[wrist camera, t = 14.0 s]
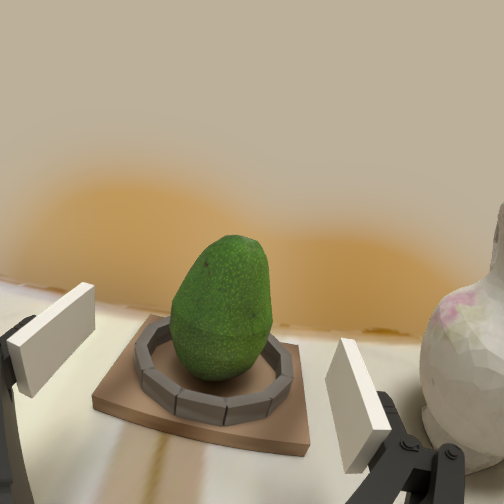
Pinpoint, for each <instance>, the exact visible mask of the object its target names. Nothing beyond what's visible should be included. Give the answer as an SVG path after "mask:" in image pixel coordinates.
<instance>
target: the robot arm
mask: <svg viewBox="0 0 504 504" xmlns="http://www.w3.org/2000/svg"><path fill="white" fill-rule="evenodd" d="M94 289H95V285H91V284H88V283H84V282H82V283H81V284H80V285H78V286H77V287H75V288H74V289H73V290H71V291H70V292H68V293H67V294H66V295H64V296H63V297H62V298H60V299H59V300H58V301H56V302H55V303H54V304H52V305H51V306H50V307H48V308H47V309H46V310H44V311H43V312H42V313H40V314H39V315H38V316H36V315H32V316H29V317H27V318H25V319H23V320H22V321H21V322H19V324H17V325H15V326H14V327H13V328H11V329H10V330H9V331H7V332H6V333H5V334H4V335H2V336H1V337H0V504H34V500H33V497H32V493H31V490H30V486H29V482H28V478H27V474H26V469H25V465H24V460H23V455H22V450H21V445H20V439H19V433H18V427H17V420H16V412H15V403H14V393H13V389H12V386H13V385H14V384H15V383H16V382H17V386H18V389H19V392H20V393H22V394H24V395H26V396H28V397H30V398H33V397H34V396H35V395H36V394H37V392H38V391H39V390H40V389H41V388H42V387H43V386H44V384H45V383H46V382H47V381H48V380H49V379H50V378H51V377H52V375H53V374H54V373H55V372H56V371H57V370H58V369H59V368H60V367H61V365H62V364H63V363H64V362H65V361H66V360H67V359H68V358H69V357H70V356H71V355H72V353H73V352H74V351H75V350H76V349H77V348H78V347H79V346H80V345H81V344H82V343H83V342H84V341H85V339H86V338H87V337H88V336H89V335H90V334H91V333H92V332H93V331H94V330H95V294H94V293H95V292H94V291H95V290H94ZM325 382H326V386H327V391H328V395H329V400H330V404H331V409H332V414H333V418H334V423H335V428H336V432H337V437H338V442H339V447H340V452H341V457H342V462H343V467H344V472H345V474H357V473H363V471H364V470H365V468H366V467H367V466H368V467H369V470H370V473H369V474H368V476H367V477H366V478H365V480H364V481H363V482H362V483H361V485H360V486H359V487H358V489H357V490H356V491H355V492H354V494H353V495H352V496H351V497H350V498H349V500H348V501H347V502H346V503H345V504H393V502H394V501H395V499H396V497H397V496H398V494H399V492H400V491H405V492H407V493H406V498H405V502H404V504H464V490H465V455H464V452H463V451H462V449H461V448H460V447H458V446H457V445H455V444H453V443H444V444H442V445H441V446H440V447H439V449H438V450H432V449H427V448H423V447H422V445H421V443H420V441H419V440H418V439H417V438H415V437H414V436H412V435H409V434H407V432H406V430H405V428H404V425H403V423H402V421H401V418H400V416H399V414H398V412H397V409H396V408H395V405H394V403H393V401H392V399H391V398H390V397H389V396H388V394H387V393H386V392H382V391H376V390H375V387H374V385H373V382H372V380H371V378H370V375H369V373H368V370H367V368H366V366H365V363H364V361H363V359H362V356H361V354H360V352H359V350H358V347H357V345H356V343H355V340H352V339H346V338H340V341H339V344H338V346H337V349H336V352H335V355H334V357H333V360H332V363H331V365H330V368H329V370H328V373H327V375H326V378H325Z"/></svg>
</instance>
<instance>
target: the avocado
mask: <svg viewBox="0 0 504 504" xmlns="http://www.w3.org/2000/svg"><path fill="white" fill-rule="evenodd" d="M272 323H273V319H272V308H271V297H270V281H269V267H268V260H267V258H266V255H265V253H264V251H263V248H262V247H261V245H260V244H259V242H258V241H256V240H253V239H250V238H247V237H244V236H239V235H227V236H224V237H223V238H221V239H219V240H218V241H216V242H214V243H213V244H211V245H209V246H208V247H207V248H206V249H205V250H204V251H203V252H202V254H201V255H200V256H199V257H198V258H197V260H196V261H195V263H194V265H193V266H192V267H191V269H190V271H189V272H188V274H187V275H186V277H185V279H184V281H183V283H182V285H181V286H180V288H179V290H178V292H177V293H176V295H175V297H174V299H173V301H172V308H171V316H170V323H169V328H170V332H171V336H172V341H173V345H174V348H175V352H176V355H177V357H178V358H179V360H180V361H181V363H182V364H183V365H184V366H185V368H186V369H187V370H188V371H189V373H190V374H192V375H193V376H195V377H197V378H200V379H202V380H205V381H225V380H229V379H232V378H234V377H236V376H239V375H241V374H243V373H245V372H246V371H247V370H249V369H250V368H251V367H252V366H253V364H254V363H255V361H256V359H257V358H258V356H259V355H260V353H261V351H262V350H263V348H264V346H265V345H266V343H267V340H268V336H269V333H270V330H271V326H272Z"/></svg>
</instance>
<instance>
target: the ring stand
mask: <svg viewBox="0 0 504 504" xmlns="http://www.w3.org/2000/svg"><path fill="white" fill-rule="evenodd" d="M169 323H170V316H169V317H166V318H164V317H160V316H156V315H152V314H150V315H149V317H148V318H147V319H146V321H145V322H144V323H143V325H142V326H141V327H140V329H139V330H138V331H137V333H136V334H135V335H134V337H133V338H132V340H131V341H130V342H129V344H128V345H127V346H126V348H125V349H124V350H123V352H122V353H121V355H120V356H119V357H118V359H117V360H116V361H115V363H114V364H113V366H112V367H111V368H110V370H109V371H108V373H107V374H106V375H105V377H104V378H103V380H102V381H101V382H100V384H99V385H98V387H97V388H96V389H95V391H94V392H93V394H92V401H93V408H94V409H96V410H98V411H101V412H104V413H106V414H109V415H112V416H115V417H118V418H121V419H124V420H127V421H130V422H133V423H136V424H139V425H143V426H146V427H149V428H153V429H156V430H160V431H163V432H167V433H171V434H175V435H178V436H182V437H187V438H191V439H195V440H199V441H204V442H209V443H214V444H219V445H224V446H229V447H235V448H241V449H247V450H253V451H260V452H267V453H275V454H284V455H294V456H305V454H306V452H307V450H308V448H309V446H310V437H309V428H308V419H307V410H306V402H305V394H304V386H303V378H302V370H301V362H300V355H299V347H298V345H293V344H288V343H282V342H279V341H278V340H277V339H276V338H275V337H274V336H273V335H272V334H270V333H269V336H268V340H267V343H266V345H265V346H264V348H263V350H262V351H261V353H260V355H259V356H258V358H257V359H256V361H255V363H254V364H253V366H252V367H251V368H250V369H249V370H247V371H246V372H245V373H243V374H241V375H239V376H236V377H234V378H232V379H229V380H225V381H205V380H202V379H200V378H197V377H195V376H193V375H192V374H190V373H189V371H188V370H187V369H186V368H185V366H184V365H183V364H182V363H181V361H180V360H179V358H178V357H177V355H176V352H175V348H174V345H173V341H172V336H171V332H170V328H169Z"/></svg>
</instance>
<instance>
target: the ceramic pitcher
mask: <svg viewBox="0 0 504 504" xmlns="http://www.w3.org/2000/svg"><path fill="white" fill-rule="evenodd" d="M420 379H421V387H422V391H423V394H424V397H425V400H426V403H427V405H425V406H424V407H423V408H421V414H422V421H423V425H424V428H425V430H426V432H427V435H428V437H429V439H430V441H431V444H432V446H433V448H434V450H438V449H439V447H440V446H441V445H442V444H444V443H453V444H455V445H457V446H458V447H460V448H461V449H462V451H463V452H464V455H465V475H468V474H471V473H474V472H477V471H479V470H482V469H485V468H488V467H491V466H493V465H496V464H498V463H499V462H501V461H503V460H504V202H503V203H502V204H501V207H500V210H499V214H498V221H497V226H496V230H495V235H494V241H493V252H492V260H491V265H490V273H489V274H488V275H487V276H486V277H484V278H483V279H481V280H480V281H479V282H477V283H475V284H473V285H471V286H467V287H464V288H461V289H458V290H455V291H454V292H452V293H450V294H448V295H447V296H445V297H443V299H442V300H441V301H440V303H439V304H438V305H437V306H436V308H435V310H434V312H433V314H432V316H431V318H430V321H429V324H428V326H427V329H426V331H425V333H424V336H423V340H422V345H421V353H420Z"/></svg>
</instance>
